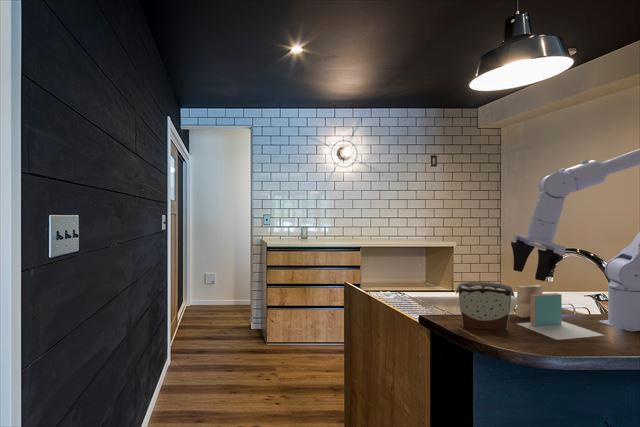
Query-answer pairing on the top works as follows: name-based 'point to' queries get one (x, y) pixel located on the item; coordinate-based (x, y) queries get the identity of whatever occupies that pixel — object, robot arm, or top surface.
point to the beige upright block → (526, 298)
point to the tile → (545, 309)
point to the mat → (561, 331)
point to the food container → (485, 305)
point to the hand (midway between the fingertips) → (528, 275)
